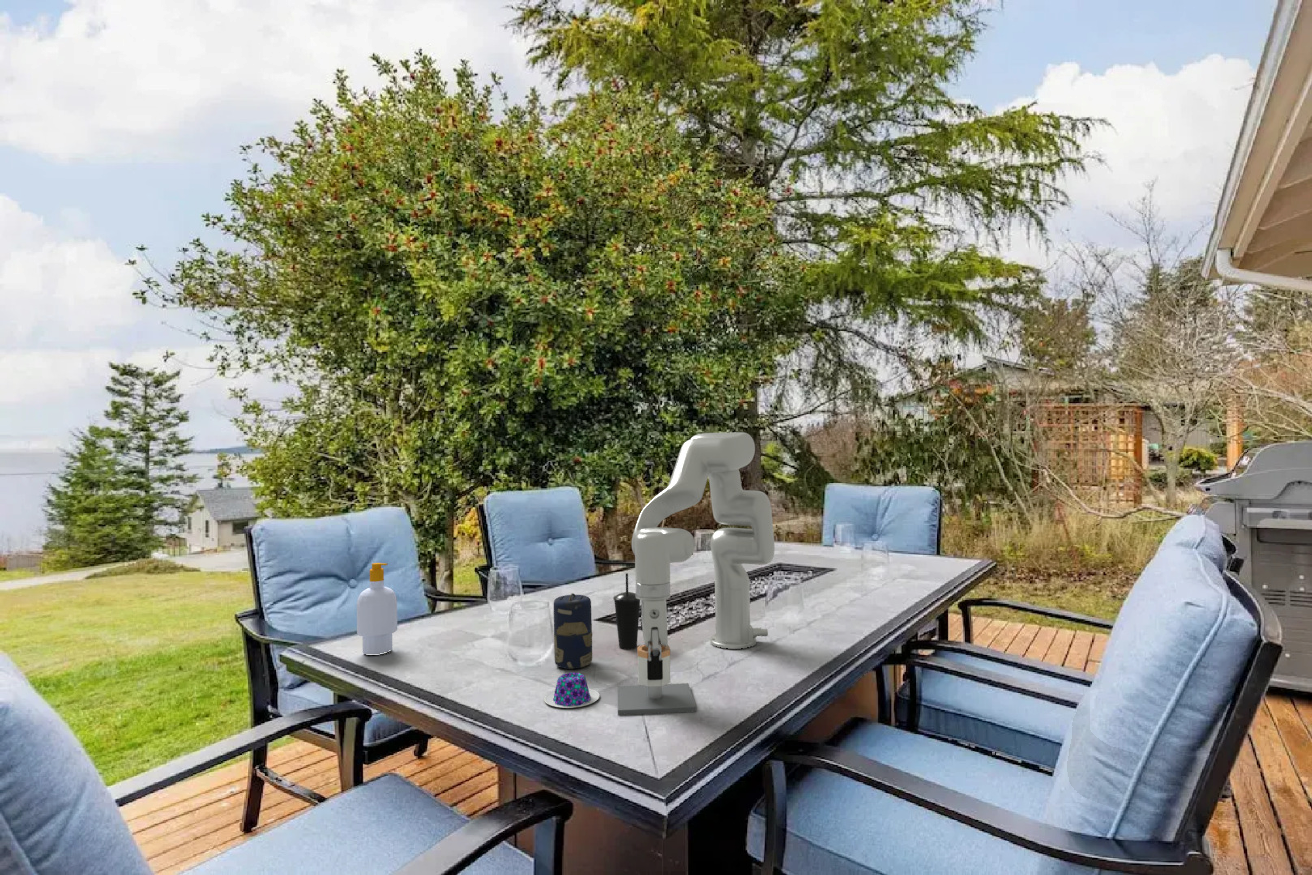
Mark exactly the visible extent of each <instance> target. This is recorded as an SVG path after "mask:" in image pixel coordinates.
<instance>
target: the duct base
mask: <svg viewBox="0 0 1312 875" xmlns="http://www.w3.org/2000/svg"><path fill="white" fill-rule="evenodd" d="M689 684H690V683H688V682H687V683H684V682H683V683H668V684H666V685H663V686H650V687H649V686H645V685H641V684H636V685H635V684H634V685H633V684H632V685H618V686H617V716H626V715H627V716H628V715H631V716H632V715H650V714H654V715H655V714H674V713H675V714H679V713H696V712H697V707H696V704H695V699H694V695H693V693H692V690H691V688H690V685H689Z"/></svg>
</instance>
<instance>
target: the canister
mask: <svg viewBox="0 0 1312 875" xmlns="http://www.w3.org/2000/svg"><path fill="white" fill-rule="evenodd" d="M592 624H593V622H592V600H591V598H590V597H589V596H587V595H584V594H575V593H571V594H565V595H561V596H558V597H556V598H555V599H554V600H553V644H554V645H553V646H554V648H553V650H554V652H553V654H554V655H553V656H554V657H553V658H554V664H555V665H556V666H557V667H559V668H561V669H569V670H571V669H581V668H584V667H587V666H589V665H591V663H592V661H593V625H592Z"/></svg>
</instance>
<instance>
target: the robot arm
mask: <svg viewBox="0 0 1312 875" xmlns="http://www.w3.org/2000/svg"><path fill="white" fill-rule="evenodd" d="M755 452H756V444H755V440H754V438H752V436H751V435H750V434H749V433H747V432H741V431H739V432H737V431H736V432H735V431H734V432H702V433H698V434H695V435H693V436H692V437H691V438H690V439H688V440H686V441H685V442H683V444H682V445H681V448H680V450H679V453H678V456H677V459H676V461H675V464H674V467H673V471H672V474H671V476H670V479H669V482H668V486H667V487H666V488H664V490H661V491H660V492H659V493H658V494H657V495H655V496H654V497H653V498H652V499H651V500H650V501H649V502H648V503H647V504H646V505H645V506H644V507H643V509H642V510H641V512H640V514H639V516H638V519H637V521H636V524H635V527H634V530H633V533H632V538H631V550H632V552H633V554H634V567H635V570H634V571H635V573H634V574H635V575H634V576H635V577H634V578H635V582H634V583H635V584H634V585H635V593H636V598H637V599H640V608H641V625H642V626H641V628H642V637H643V641H644V642H643V643H644V644H645V646H646V647H648V660H647V678H648V680H662V679H663V660H662V655H661V644H662V646H663V645H664V646H665V647H666V646H667V645H668V644H669V643H668V638H669V637H668V615H667V613H668V612H667V611H668V610H667V600H668V599H670V598H671V563H672V564H673V563H683V562H686V561H687V560H689V559H690V558H691V557H692V556H693V554H694V551H695V546H696V542H695V539H694V536H693V534H692V533H691V532H690V531H688V530H686V529H684V528H683V529H682V528H673V527H663V526H662V527H661V526H660V527H658V526H659V524H661V522H662V521H664V519H666V518H668V517H670V516H672V515H673V514H676V513H678V512H681V511H683V510H686V509H688V508H690V507H693V506H695V505H696V504H698V503H700V501H701V500H702V499H703V495H704V492H705V488H706V484H707V482H708V480H709V482H708V483H709V491H710V499H711V501H710V502H711V508H712V515H713V519H714V520H715V522H716V523H718V524H721V525H727V526H742V527H741V528H740V527H739V528H738V527H724V528H720V529H717V530H715V531H714V532H713V533H712V535H711V537H710V551H711V556H712V562H713V569H714V571H713V572H714V597H715V599H714V601H715V604H714V605H715V610H714V611H715V634H714V635H712V636H711V637H710V639H709V640H710V641H709V642H710V644H711V645H712V646H714V647H716V646H717V648H720V647H721V648H720V649H726V648H728V650H742V649H741V648H743V649H748V648H747V647H749V648H751V647H750V646H752V647H753V646H755V645H756V644H757V637H768V635H769V632H768V631H769V630H768V629H767V628H762V627H753V626H752V625H751V598H750V596H751V594H750V588H751V587H750V578H749V575H748V572H747V571H746V569H745V568H744V566H743V564H744V565H761V566H762V565H764V566H765V565H768V564H770V563H771V562H772V561H773V560H774V557H775V550H776V549H775V534H774V524H773V511H772V506H771V501H770V499H769V497H768V495H767V494H766V493H765V492H763V491H760V490H751V489H750V490H745V489H743V487H742V480H741V473H740V469H743V468H744V467H747V466H748V465H749V464H750V463H751V462H752V460H753V459H754V457H755ZM743 526H745V527H746V526H747V527H748V526H749V527H751V528H743ZM650 644H652V645H650ZM668 646H669V645H668ZM651 649H652V650H651Z"/></svg>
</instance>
